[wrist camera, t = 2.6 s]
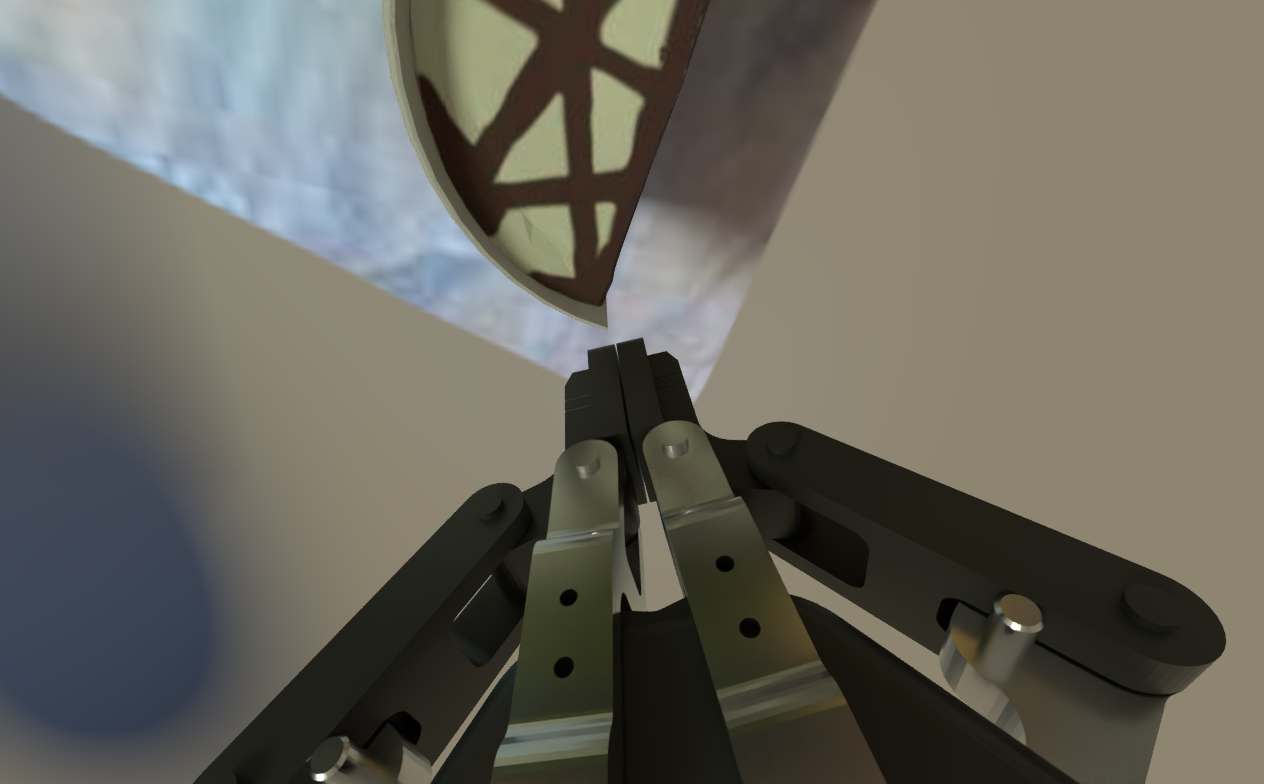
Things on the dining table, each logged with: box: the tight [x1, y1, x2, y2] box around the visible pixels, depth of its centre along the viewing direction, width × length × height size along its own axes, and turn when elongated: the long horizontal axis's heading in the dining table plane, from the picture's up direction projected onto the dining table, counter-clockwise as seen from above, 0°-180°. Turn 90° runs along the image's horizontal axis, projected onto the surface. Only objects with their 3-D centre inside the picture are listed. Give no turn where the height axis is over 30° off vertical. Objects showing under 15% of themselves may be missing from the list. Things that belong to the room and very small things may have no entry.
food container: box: [382, 0, 710, 330], centre depth 13 cm, size 12×6×10 cm, turn 161°
